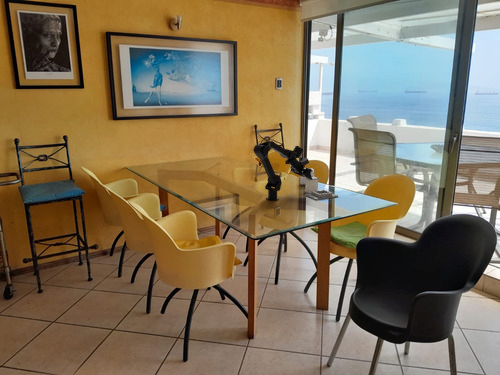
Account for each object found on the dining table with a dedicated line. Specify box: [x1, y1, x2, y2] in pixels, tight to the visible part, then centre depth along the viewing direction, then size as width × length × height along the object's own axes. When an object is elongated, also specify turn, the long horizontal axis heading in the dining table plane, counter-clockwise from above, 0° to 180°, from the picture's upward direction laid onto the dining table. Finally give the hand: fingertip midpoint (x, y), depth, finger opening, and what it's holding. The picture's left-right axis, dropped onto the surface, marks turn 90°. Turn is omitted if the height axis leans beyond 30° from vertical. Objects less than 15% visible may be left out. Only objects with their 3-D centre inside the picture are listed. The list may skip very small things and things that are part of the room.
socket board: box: [305, 189, 339, 201], centre depth 247 cm, size 12×18×3 cm, turn 116°
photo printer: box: [299, 167, 315, 185], centre depth 279 cm, size 10×4×12 cm, turn 90°
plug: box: [304, 176, 319, 194], centre depth 258 cm, size 5×7×10 cm
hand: (308, 177), depth 255 cm, fingers open, 9 cm apart
